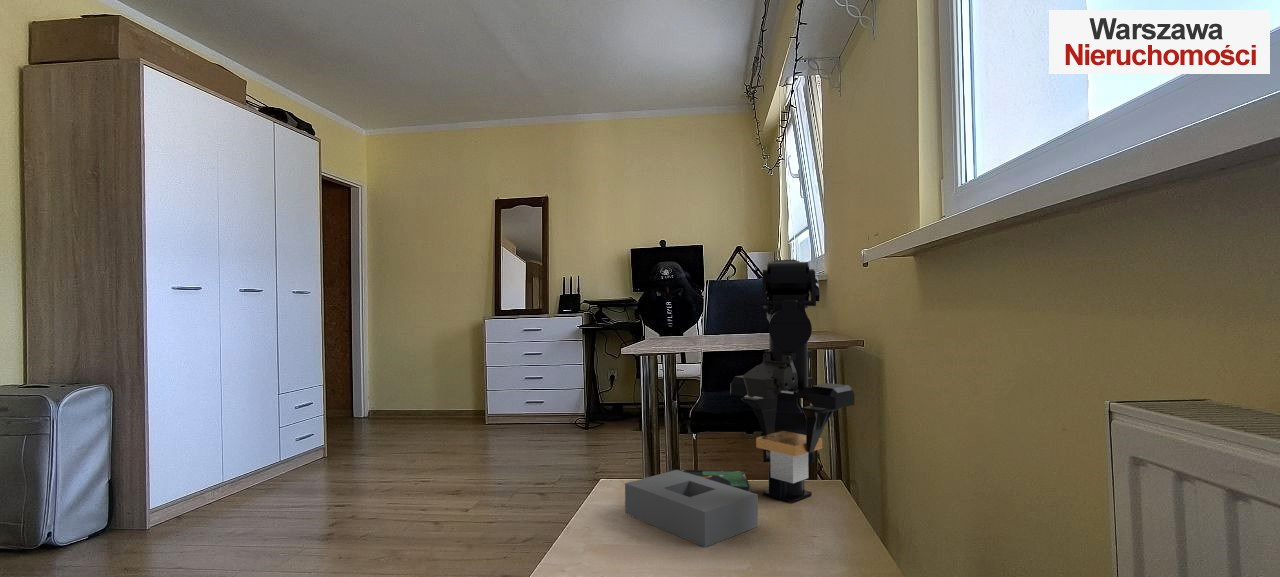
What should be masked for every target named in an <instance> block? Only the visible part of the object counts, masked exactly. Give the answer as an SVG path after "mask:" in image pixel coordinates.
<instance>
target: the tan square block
mask: <svg viewBox="0 0 1280 577" xmlns="http://www.w3.org/2000/svg"><path fill="white" fill-rule="evenodd" d="M755 442H756V443H755V445H756V446H755V447H756V448H757V449H760V450H763V449H765V450H769V451H768V452H769V453H770V465H771V478H774V479H778V480H782V481H786V482H789V483H796V482H799V481H801V480H804V481H805V480H807V479H809V465H808V453H809V452H808V451H807V444H806V435H802V434H797V433H792V432H787V431H781V432H777V433H773V434H769V435H765V436H763V435H762V436H757V437H756V440H755ZM821 449H823V437H820V438H819V440H818V442H817V444H816V447H815V449H814V451H815V452H816V451H818V450H821Z"/></svg>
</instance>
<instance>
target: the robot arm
mask: <svg viewBox="0 0 1280 577" xmlns="http://www.w3.org/2000/svg"><path fill="white" fill-rule="evenodd" d="M766 265H767V267H766V269H762V284H761V285H762V290H761V291H762V292H761V293H762V294H761V298H762V300H761V302H762V303H761V305H762V308H763V309H766V319H767V321H768V335H769V337H768V338H769V339H768V343H769V346H768V350H764V351H763V355H762V362H761V363H760V364H757V365H755V366H754V367H752V368H751V369H750V370H748V371H747V372H746V373H745V374H742V375H736V376H734V377H733V379H732V380H731V382H730V386H729V387H730V389H729V391H730V394H729V395H733V396H739V397H740V396H741V398H740V399H741V401H742V402H744V403H747V404H748V406H750V407H751V408H752V410H753V411H754V414H755V416H756V418H757V421H758V423H759V427H760V430H761V433H762V436H765V435H769V434H773V433H777V432H781V431H787V432H792V433H797V434H802V435H806V444H807V451H808V452H809V453H808V466H812V464H814V463H816V461H815V460H816V458H815V456H816V455H815V454H816V450H815V451H814V449H815V447H816V444H817V442H818V440H819V438H821V435H822V434H823V431H824V429H825V427H826V424H827V423H828V421H829V419H830V418H831V416H832V414H833V413H834V411H837V410H838V411H839V410H840V409H842V408H848V407H850V406H855V392H854V391H853V389H852V387H851V386H850V385H848V384H839V383H830V382H829V383H821V384H816V385H814V378H813V377H811V376H810V377H809V359H812V358H814V354H813V353H814V351H813V350H809V340H810V338H811V336H812V332H813V331H812V330H813V326H812V322H811V320H810V318H809V317H808V316H809V315H808V313H807V311H806V309H808V307H816V306H817V302H820V296H821V295H820V286H819V285H820V284H819V283H820V282H819V276H818V275H817V274H816V270H815V269H814V268H810V263H809V262H808V261H800V260H796V259H775V260H774V261H773V260H772V261H771V262H767V264H766ZM799 399H805V400H808V401H809V404H810V405H808V406H802V407H801V406H800V405H799V404H798V403H799V402H798V401H799ZM762 450H763V451H762V454H763V456H762V458H763V461H762V462H763V463H768V464H769V466H768V467H769V470H768V488H767V489H764V490H762V495H765V496H768V497H772V498H775V499H778V500H782V501H785V502H788V503H795V502H797V501H799V500H802V499H805V498H808V497H811V496H812V495H813V492H812V491H808V490H805V479H804V480H801V481H799V482H796V483H789V482H786V481H782V480H778V479H774V478H771V465H770V451H769V450H765V449H762Z"/></svg>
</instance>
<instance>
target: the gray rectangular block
mask: <svg viewBox="0 0 1280 577" xmlns="http://www.w3.org/2000/svg"><path fill="white" fill-rule="evenodd" d="M673 470H674V471H670V472H668V471H667V472H662V473H659V474H655V475H652V476H647V477H645V478H641V479H636V480H633V481H628V482H625V483H624V497H625V498H624V513H627V514H629V515H628V516H630V515H631V516H630V517H632V516H633V518H634V517H635V518H634V519H637V520H639V521H640V522H644V523H646V524H649V525H651V526H654V527H656V528H658V529H661V530H663V531H666V532H668V533H670V534H673V535H675V536H678V537H680V538H682V539H684V540H687V541H688V542H692V543H694V544H696V545H698V546H701V547H703V548H707V547H709V546H712V545H715V544H717V543H719V542H722V541H725V540H727V539H730V538H732V537H735V536H737V535H739V534H742V533H744V532H748V531H749V530H752V529H753V530H754V529H755V528H757V527H759V501H758V500H759V498H758V496H759V495H758V493H755V492H752V491H750V492H749V491H745V490H742V489H739V488H735V487H732V486H729V485H726V484H722V483H719V482H716V481H712V480H709V479H706V478H702V477H699V476H696V475H693V474H689V473H686V472H683V471H679V470H680V469H673ZM627 514H626V515H627Z"/></svg>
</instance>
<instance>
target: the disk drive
mask: <svg viewBox="0 0 1280 577" xmlns="http://www.w3.org/2000/svg"><path fill="white" fill-rule="evenodd" d="M674 470H675V469H668V471H667V472H670V471H674ZM678 470H679V471H683V472H686V473H689V474H693V475H696V476H699V477H702V478H706V479H709V480H712V481H716V482H719V483H722V484H726V485H729V486H732V487H735V488H739V489H742V490H745V491H749V492H751V486H750V484H749V481H748V478H747V476H746V474H745V472H744V471H739V470H737V471H736V470H735V471H734V470H710V469H709V470H708V469H707V470H704V469H702V470H700V469H697V470H696V469H678Z"/></svg>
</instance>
